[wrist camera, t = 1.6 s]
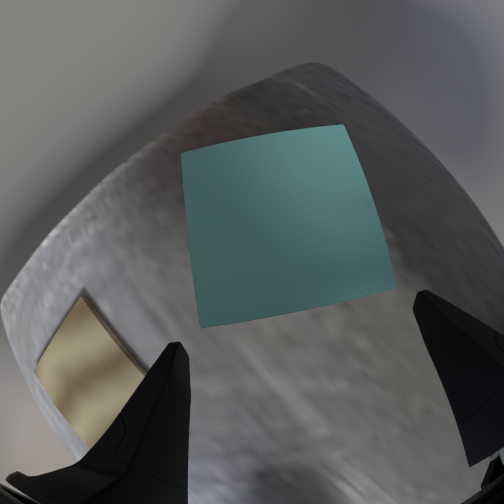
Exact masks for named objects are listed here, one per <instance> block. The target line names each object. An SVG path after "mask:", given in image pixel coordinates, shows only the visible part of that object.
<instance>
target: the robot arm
mask: <svg viewBox="0 0 504 504" xmlns="http://www.w3.org/2000/svg"><path fill="white" fill-rule="evenodd" d="M413 313H414V315H415V318H416V321H417V323H418V326H419V329H420V332H421V334H422V337H423V340H424V343H425V345H426V348H427V350H428V352H429V354H430V356H431V359H432V361H433V363H434V366H435V368H436V370H437V373H438V375H439V377H440V380H441V382H442V385H443V387H444V390H445V392H446V395H447V397H448V400H449V403H450V406H451V408H452V411H453V414H454V417H455V420H456V423H457V426H458V429H459V433H460V436H461V439H462V442H463V446H464V449H465V453H466V457H467V461H468V464H469V467H471V466H473V465H475V464H477V463H479V462H480V461H482V460H484V459H486V458H487V457H489V456H491V455H492V454H494V453H496V452H497V451H498V453H499V455H498V456H497V457H496V458H494V459H493V460H492V461H490V464H489V466H488V469H487V472H486V474H485V477H484V479H483V482H482V484H481V489H482V490H481V491H479V492H478V493H476V494H475V495H473V496H472V497H470V498H469V499H467V500H466V501H464V502H463V503H461V504H504V335H503V334H501V333H499V332H498V331H496V330H493V328H491V327H490V326H488V325H486V324H485V323H483V322H481V321H480V320H478V319H477V318H475V317H473V316H472V315H470V314H468V313H467V312H465V311H463V310H461V309H460V308H458V307H456V306H455V305H453V304H451V303H449V302H448V301H446V300H444V299H442V298H441V297H439V296H437V295H435V294H434V293H432V292H430V291H428V290H423V291H420V292H418V293H417V294H416V298H415V302H414V305H413ZM190 404H191V387H190V367H189V356H188V354H187V352H186V351H185V349H184V347H183V346H182V344H181V343H180V342H171V343H169V344H168V345H167V346H166V348H165V349H164V351H163V352H162V353H161V355H160V356H159V357H158V359H157V360H156V362H155V363H154V364H153V366H152V367H151V369H150V370H149V371H148V373H147V374H146V376H145V377H144V378H143V380H142V381H141V383H140V384H139V386H138V387H137V388H136V390H135V391H134V393H133V394H132V395H131V397H130V398H129V400H128V401H127V403H126V404H125V405H124V407H123V408H122V410H121V411H120V412H121V413H119V414H118V415H117V417H116V418H115V420H114V421H113V422H112V424H111V425H110V426H109V428H108V429H107V430H106V431H105V433H104V434H103V435H102V436H101V437H100V439H99V440H98V441H97V442H96V443H95V444H94V446H93V447H92V448H91V449H90V450H89V451H88V452H87V453H86V455H85V456H84V457H83V458H82V459H81V460H80V461H78V462H77V463H75V464H73V465H71V466H68V467H65V468H62V469H59V470H56V471H52V472H49V473H45V474H42V475H38V476H27V475H25V474H23V473H21V472H18V471H17V472H14V473H12V474H10V475H9V476H8V477H7V478H6V479H5V480H6V481H7V482H8V483H9V484H11V485H12V486H13V487H15V488H17V489H18V490H19V491H21V492H22V493H24V494H26V495H27V496H29V497H30V498H29V497H27V496H25V495H23V494H20V493H18V492H16V491H14V490H12V489H10V488H8V487H6V486H4V485H2V484H0V504H188V490H187V489H188V447H189V422H190Z"/></svg>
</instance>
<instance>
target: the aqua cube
mask: <svg viewBox="0 0 504 504" xmlns="http://www.w3.org/2000/svg"><path fill="white" fill-rule="evenodd" d="M181 164H182V178H183V191H184V203H185V213H186V223H187V233H188V242H189V250H190V259H191V266H192V274H193V281H194V288H195V295H196V302H197V308H198V315H199V321H200V327H201V328H205V327H212V326H219V325H226V324H232V323H238V322H244V321H250V320H256V319H261V318H267V317H272V316H278V315H283V314H288V313H293V312H298V311H303V310H307V309H312V308H317V307H321V306H326V305H330V304H334V303H339V302H343V301H347V300H351V299H355V298H359V297H363V296H367V295H371V294H375V293H379V292H382V291H386V290H390V289H393V288H397V286H396V281H395V276H394V272H393V268H392V264H391V260H390V256H389V252H388V248H387V244H386V241H385V237H384V234H383V230H382V227H381V223H380V220H379V217H378V214H377V210H376V207H375V204H374V201H373V198H372V195H371V192H370V189H369V187H368V184H367V181H366V178H365V176H364V173H363V170H362V168H361V165H360V163H359V160H358V157H357V155H356V153H355V150H354V148H353V145H352V143H351V141H350V138H349V136H348V134H347V131H346V129H345V127H344V125H333V126H323V127H314V128H306V129H298V130H291V131H284V132H277V133H271V134H265V135H260V136H254V137H249V138H244V139H239V140H234V141H229V142H224V143H220V144H216V145H211V146H207V147H203V148H199V149H195V150H191V151H187V152H183V153H181Z"/></svg>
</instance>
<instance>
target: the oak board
mask: <svg viewBox="0 0 504 504" xmlns="http://www.w3.org/2000/svg"><path fill="white" fill-rule="evenodd" d="M34 373H35V374H36V376H37V378H38V379H39V381H40V383H41V384H42V386H43V387H44V389H45V390H46V392H47V393H48V395H49V397H50V398H51V399H52V401H53V402H54V404H55V405H56V407H57V408H58V409H59V411H60V412H61V414H62V415H63V416H64V418H65V419H66V420H67V422H68V423H69V424H70V425H71V427H72V428H73V429H74V430H75V432H76V433H77V434H78V435H79V436H80V438H81V439H82V440H83V441H84V442H85V443H86V445H87V446H88V447H89V448H90V449H91V448H92V447H93V446H94V444H95V443H96V442H97V441H98V440H99V439H100V437H101V436H102V435H103V434H104V433H105V431H106V430H107V429H108V428H109V426H110V425H111V424H112V422H113V421H114V420H115V418H116V417H117V415H118V414H119V413H121V412H120V411H121V410H122V408H123V407H124V405H125V404H126V403H127V401H128V400H129V398H130V397H131V395H132V394H133V393H134V391H135V390H136V388H137V387H138V386H139V384H140V383H141V381H142V380H143V378H144V377H145V376H146V374H147V373H148V372H147V371H146V370H145V369H144V368H143V367H142V366H141V365H140V364H139V363H138V361H137V360H136V359H135V358H134V357H133V356H132V355H131V353H130V352H129V351H128V350H127V349H126V348H125V346H124V345H123V344H122V343H121V342H120V340H119V339H118V338H117V337H116V335H115V334H114V333H113V332H112V330H111V329H110V328H109V327H108V325H107V324H106V323H105V321H104V320H103V319H102V317H101V316H100V315H99V313H98V312H97V311H96V309H95V308H94V306H93V305H92V304H91V302H90V301H89V299H88V298H87V297H85V296H80V298H79V299H78V301H77V302H76V304H75V305H74V306H73V308H72V309H71V311H70V312H69V314H68V315H67V317H66V318H65V320H64V321H63V323H62V325H61V326H60V328H59V329H58V331H57V332H56V334H55V336H54V337H53V339H52V340H51V342H50V344H49V345H48V347H47V349H46V351H45V352H44V354H43V356H42V357H41V359H40V361H39V363H38V364H37V366H36V368H35V370H34Z"/></svg>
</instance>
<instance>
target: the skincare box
mask: <svg viewBox="0 0 504 504" xmlns="http://www.w3.org/2000/svg"><path fill="white" fill-rule="evenodd" d="M498 455H499V453H498V451H497V452H496V453H494V454H493V455H492V457H491V459H492V460H493V459H494V458H496V457H497V456H498Z"/></svg>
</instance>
